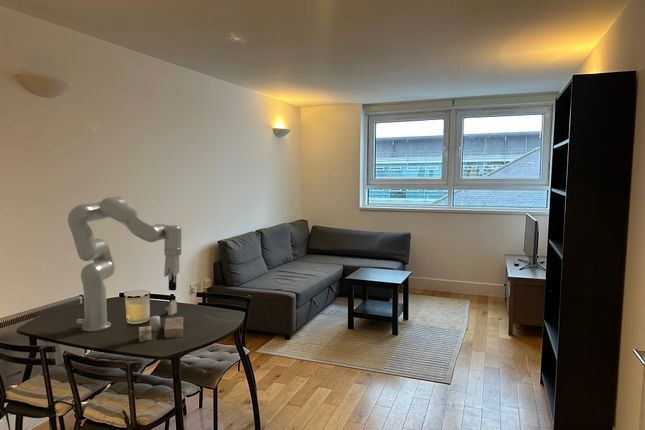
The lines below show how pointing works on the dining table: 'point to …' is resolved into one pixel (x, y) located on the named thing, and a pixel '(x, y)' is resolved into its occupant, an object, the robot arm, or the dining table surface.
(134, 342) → the dining table surface
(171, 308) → the architectural model
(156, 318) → the grey cylinder
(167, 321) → the brick
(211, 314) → the dining table surface
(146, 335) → the beech cube
